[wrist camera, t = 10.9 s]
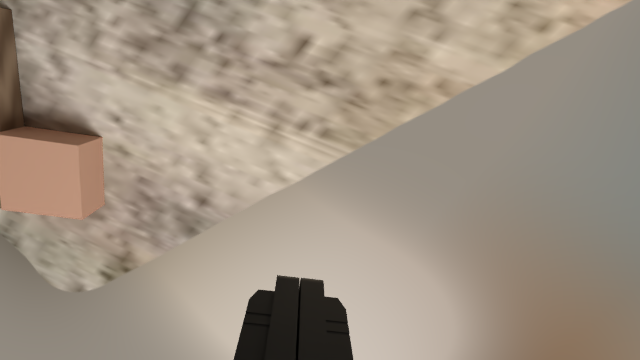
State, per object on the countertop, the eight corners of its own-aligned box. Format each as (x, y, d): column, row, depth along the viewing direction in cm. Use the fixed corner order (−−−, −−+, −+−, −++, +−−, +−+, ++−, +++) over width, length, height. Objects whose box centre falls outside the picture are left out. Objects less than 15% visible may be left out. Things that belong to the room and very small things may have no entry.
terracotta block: (27, 126, 38) (-9, 133, 34) (103, 136, 39) (78, 145, 34) (34, 194, 41) (1, 209, 36) (105, 203, 41) (82, 219, 37)
